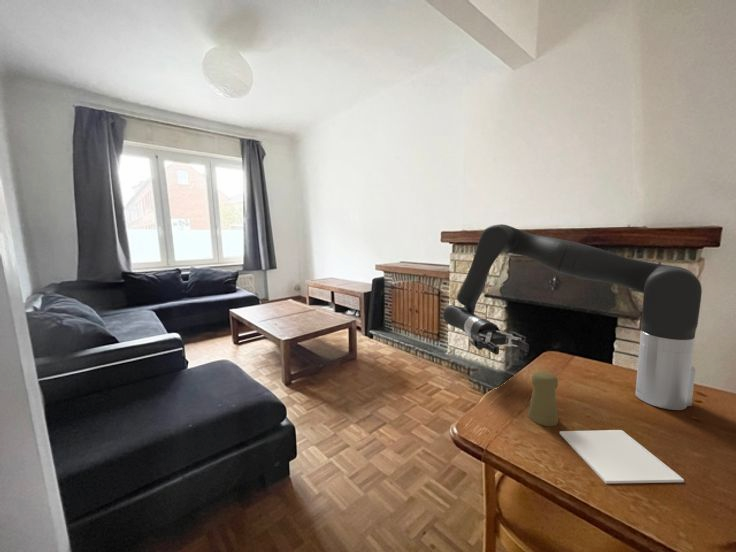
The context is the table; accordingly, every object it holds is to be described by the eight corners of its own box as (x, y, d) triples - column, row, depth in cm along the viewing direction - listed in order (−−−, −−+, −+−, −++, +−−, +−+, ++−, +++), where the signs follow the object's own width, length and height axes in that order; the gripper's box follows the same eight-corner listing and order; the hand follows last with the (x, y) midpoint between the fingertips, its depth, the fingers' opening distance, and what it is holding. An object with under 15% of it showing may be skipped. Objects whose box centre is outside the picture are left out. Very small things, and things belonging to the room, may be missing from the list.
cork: (522, 411, 72) (524, 368, 71) (546, 409, 73) (548, 366, 71) (538, 427, 66) (540, 380, 65) (564, 424, 67) (567, 378, 65)
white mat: (621, 432, 64) (621, 429, 64) (683, 482, 51) (684, 479, 51) (559, 433, 64) (559, 431, 64) (605, 483, 51) (605, 480, 51)
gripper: (459, 320, 93) (488, 338, 77) (502, 317, 95) (538, 334, 80) (459, 343, 94) (487, 365, 79) (501, 339, 97) (536, 360, 81)
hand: (512, 349), depth 79 cm, fingers open, 8 cm apart
